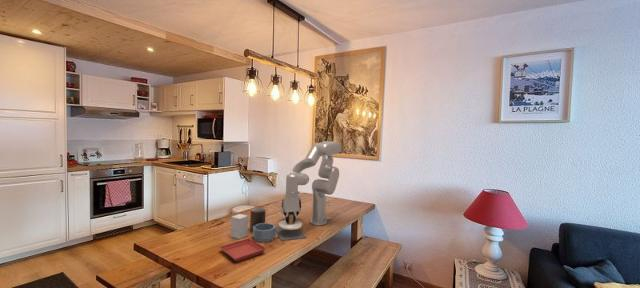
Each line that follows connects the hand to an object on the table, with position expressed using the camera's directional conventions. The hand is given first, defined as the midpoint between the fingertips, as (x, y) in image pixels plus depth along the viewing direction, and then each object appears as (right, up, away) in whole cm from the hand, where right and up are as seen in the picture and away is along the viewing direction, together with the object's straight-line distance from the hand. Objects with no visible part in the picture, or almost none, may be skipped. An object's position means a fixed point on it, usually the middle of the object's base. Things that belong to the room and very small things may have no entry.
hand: (290, 221), depth 171 cm
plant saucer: (-23, -9, -27) cm, 37 cm away
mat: (-1, -8, +1) cm, 8 cm away
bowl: (-15, -8, -7) cm, 19 cm away
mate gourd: (-2, -7, +23) cm, 24 cm away
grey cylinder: (-22, -7, +5) cm, 24 cm away
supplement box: (-31, -7, -6) cm, 32 cm away
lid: (0, -3, 0) cm, 3 cm away
